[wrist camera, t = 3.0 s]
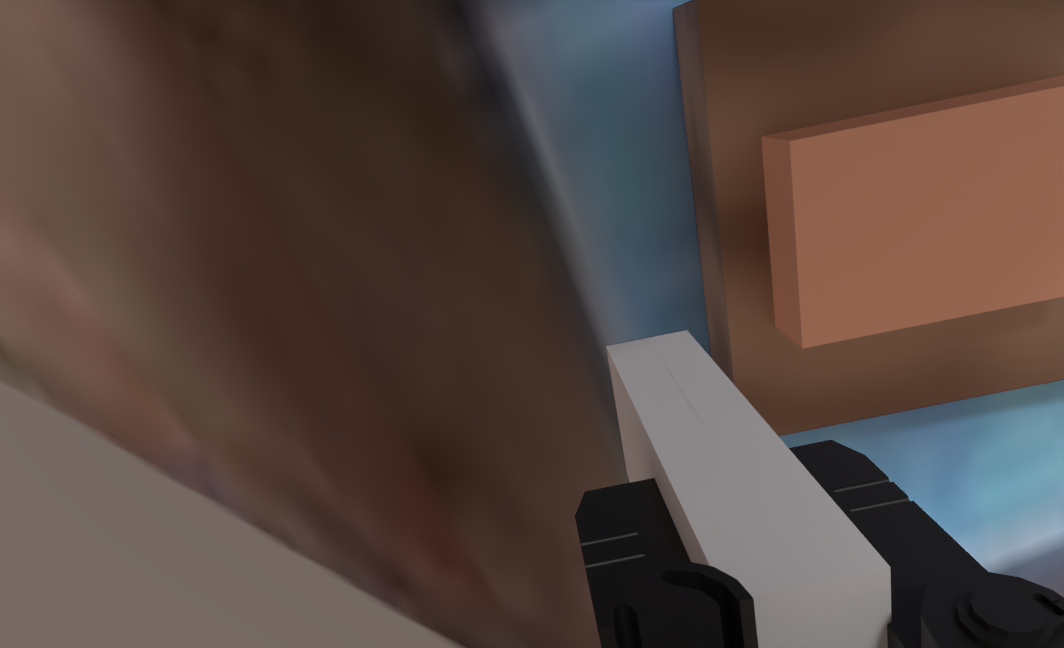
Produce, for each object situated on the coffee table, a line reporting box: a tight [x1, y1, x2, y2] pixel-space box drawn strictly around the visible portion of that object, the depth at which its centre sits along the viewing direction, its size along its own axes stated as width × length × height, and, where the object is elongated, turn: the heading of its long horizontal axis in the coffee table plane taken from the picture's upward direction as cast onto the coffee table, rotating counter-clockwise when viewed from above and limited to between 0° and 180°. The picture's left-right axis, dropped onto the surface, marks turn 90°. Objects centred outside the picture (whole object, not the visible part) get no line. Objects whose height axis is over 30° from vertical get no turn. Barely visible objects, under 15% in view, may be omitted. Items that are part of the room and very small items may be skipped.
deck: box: [673, 0, 1064, 436], centre depth 22 cm, size 14×16×2 cm
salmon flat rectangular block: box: [761, 76, 1064, 349], centre depth 20 cm, size 9×6×2 cm, turn 101°
